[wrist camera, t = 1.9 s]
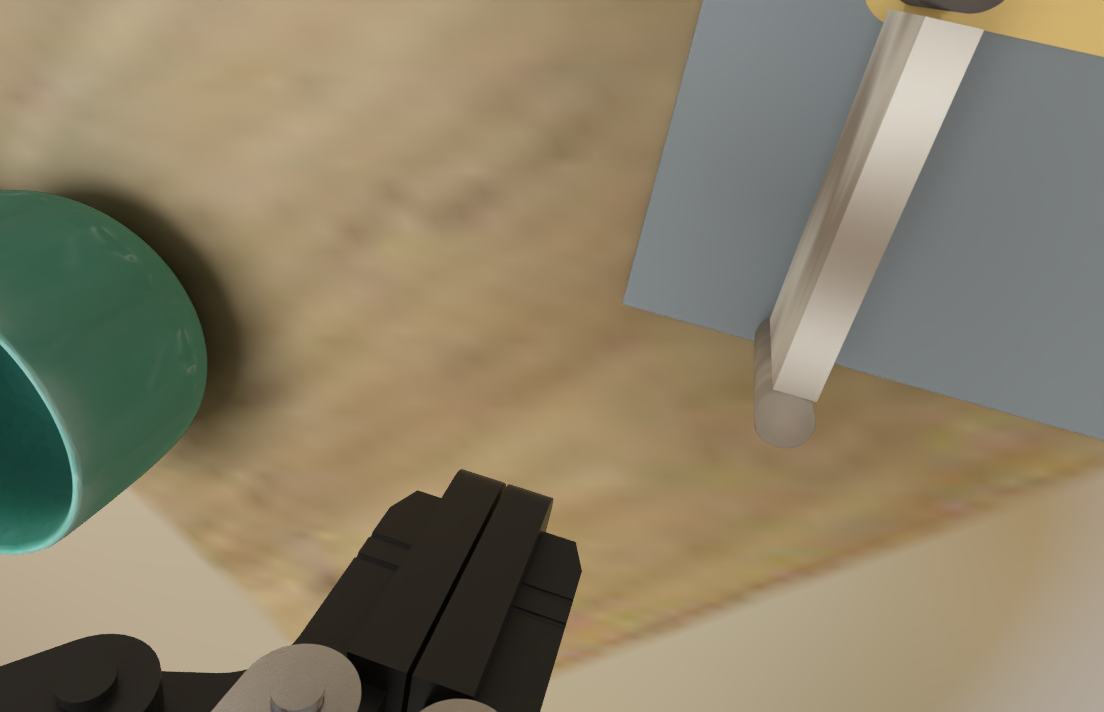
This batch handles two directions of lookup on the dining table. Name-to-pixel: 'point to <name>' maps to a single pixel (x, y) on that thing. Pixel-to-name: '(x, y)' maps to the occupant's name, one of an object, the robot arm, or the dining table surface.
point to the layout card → (930, 212)
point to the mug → (85, 364)
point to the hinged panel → (858, 210)
